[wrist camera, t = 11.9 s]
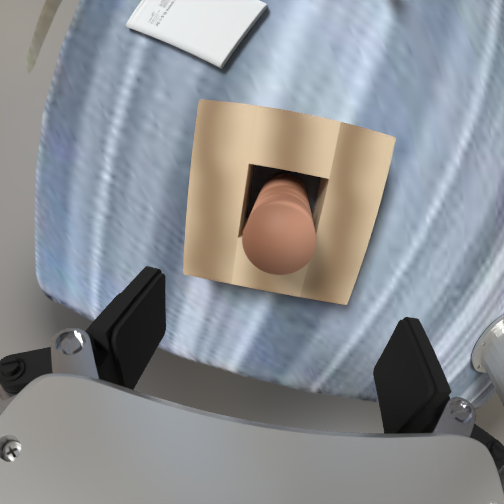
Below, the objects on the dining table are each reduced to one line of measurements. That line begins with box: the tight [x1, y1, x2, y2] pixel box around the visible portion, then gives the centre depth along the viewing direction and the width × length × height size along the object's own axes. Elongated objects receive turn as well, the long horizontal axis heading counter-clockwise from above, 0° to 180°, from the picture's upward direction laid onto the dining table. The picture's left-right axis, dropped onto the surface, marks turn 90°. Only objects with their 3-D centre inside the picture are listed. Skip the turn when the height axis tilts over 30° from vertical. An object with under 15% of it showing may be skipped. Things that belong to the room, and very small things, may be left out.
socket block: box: [183, 100, 396, 305], centre depth 26 cm, size 16×16×5 cm
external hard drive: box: [126, 0, 268, 69], centre depth 21 cm, size 2×8×12 cm
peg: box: [242, 172, 317, 275], centre depth 23 cm, size 4×4×12 cm
